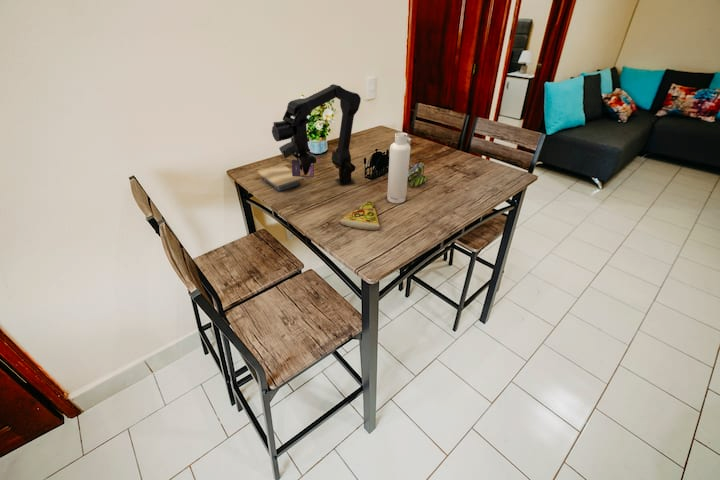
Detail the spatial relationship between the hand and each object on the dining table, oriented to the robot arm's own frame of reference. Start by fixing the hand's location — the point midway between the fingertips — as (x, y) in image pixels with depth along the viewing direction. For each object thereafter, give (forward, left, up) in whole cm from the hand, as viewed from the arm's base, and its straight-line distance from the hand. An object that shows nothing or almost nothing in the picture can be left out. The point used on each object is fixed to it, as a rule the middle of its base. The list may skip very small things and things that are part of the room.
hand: (303, 172), depth 141 cm
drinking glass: (+21, -61, -11) cm, 65 cm away
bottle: (-18, -35, -11) cm, 41 cm away
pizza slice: (-25, -17, -11) cm, 33 cm away
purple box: (+1, 0, -1) cm, 1 cm away
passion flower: (-8, -51, -11) cm, 53 cm away
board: (+18, +7, -8) cm, 21 cm away
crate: (+18, +7, -11) cm, 22 cm away
